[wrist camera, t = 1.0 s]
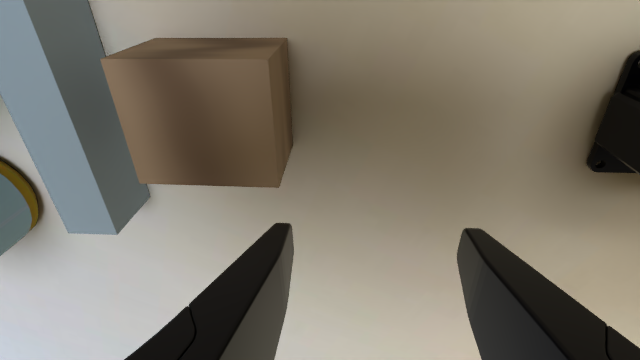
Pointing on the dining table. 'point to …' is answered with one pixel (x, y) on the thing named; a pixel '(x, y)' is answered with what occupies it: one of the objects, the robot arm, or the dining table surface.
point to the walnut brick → (204, 109)
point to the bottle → (15, 207)
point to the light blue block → (68, 113)
